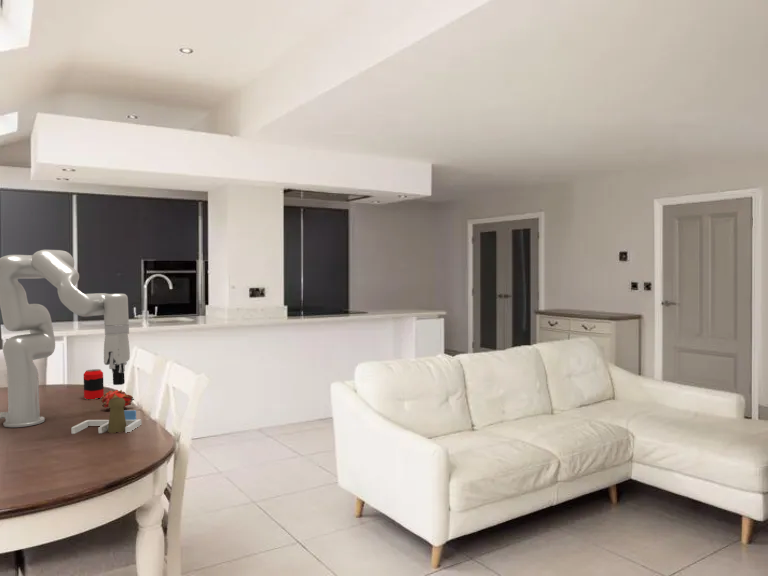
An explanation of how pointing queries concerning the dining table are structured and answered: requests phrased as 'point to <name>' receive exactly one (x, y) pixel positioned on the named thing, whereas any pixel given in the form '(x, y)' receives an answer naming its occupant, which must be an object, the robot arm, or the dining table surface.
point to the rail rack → (103, 424)
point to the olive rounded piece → (116, 415)
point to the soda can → (93, 384)
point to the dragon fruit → (116, 394)
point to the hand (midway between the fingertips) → (118, 384)
